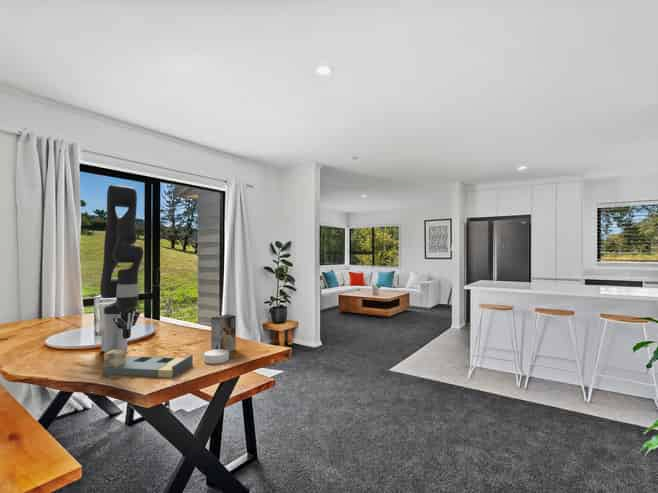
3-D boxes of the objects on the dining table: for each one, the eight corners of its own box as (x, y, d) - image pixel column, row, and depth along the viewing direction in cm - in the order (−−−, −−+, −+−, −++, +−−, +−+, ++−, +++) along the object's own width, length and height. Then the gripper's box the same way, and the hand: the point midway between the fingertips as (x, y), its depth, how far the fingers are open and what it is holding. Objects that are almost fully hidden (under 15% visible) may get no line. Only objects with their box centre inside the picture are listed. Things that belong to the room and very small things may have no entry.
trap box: (102, 374, 129) (102, 363, 129) (127, 361, 143) (127, 352, 143) (173, 377, 126) (173, 366, 126) (192, 364, 140) (192, 354, 140)
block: (103, 366, 130) (104, 353, 130) (113, 362, 135) (113, 349, 135) (116, 367, 130) (116, 353, 130) (125, 362, 135) (125, 349, 135)
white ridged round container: (218, 355, 154) (218, 347, 154) (233, 359, 148) (233, 351, 148) (199, 361, 145) (199, 352, 145) (213, 366, 140) (214, 357, 140)
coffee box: (226, 347, 164) (226, 313, 164) (236, 350, 161) (236, 315, 161) (210, 352, 157) (210, 317, 157) (220, 355, 153) (220, 318, 153)
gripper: (130, 292, 145) (129, 333, 146) (106, 297, 132) (105, 342, 133) (146, 293, 145) (145, 334, 145) (124, 298, 131) (123, 343, 132)
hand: (126, 338), depth 139 cm, fingers closed
